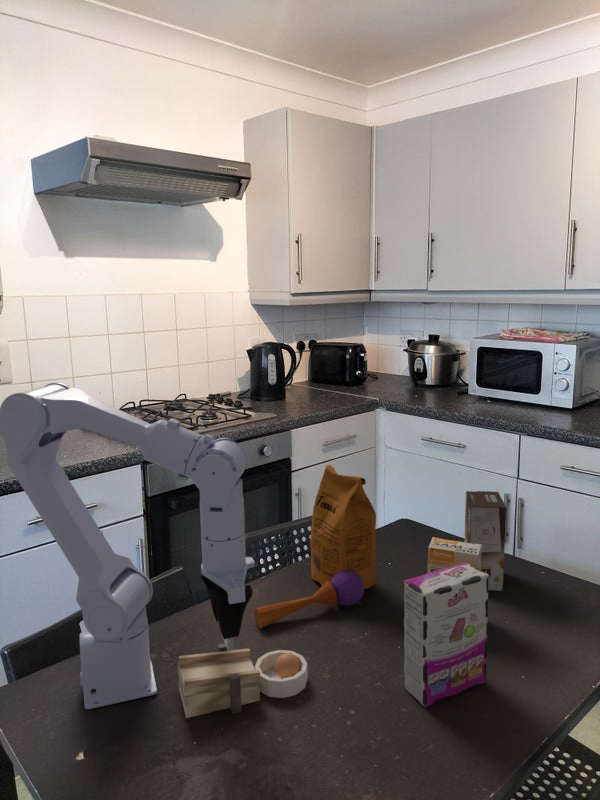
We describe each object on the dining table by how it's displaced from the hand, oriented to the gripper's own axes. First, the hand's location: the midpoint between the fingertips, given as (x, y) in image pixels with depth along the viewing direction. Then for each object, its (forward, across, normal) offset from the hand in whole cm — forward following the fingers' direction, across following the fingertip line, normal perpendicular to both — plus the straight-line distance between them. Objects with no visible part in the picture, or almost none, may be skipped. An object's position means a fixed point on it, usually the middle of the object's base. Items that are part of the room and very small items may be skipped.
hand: (226, 627), depth 84 cm
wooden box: (+10, 0, +2) cm, 10 cm away
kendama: (+10, +16, -18) cm, 26 cm away
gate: (+2, 0, 0) cm, 2 cm away
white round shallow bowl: (+10, 0, -8) cm, 12 cm away
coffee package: (+10, +24, -27) cm, 38 cm away
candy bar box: (+10, -9, -28) cm, 32 cm away
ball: (+8, 0, -8) cm, 11 cm away
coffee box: (+10, +16, -52) cm, 56 cm away
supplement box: (+10, +6, -40) cm, 41 cm away
